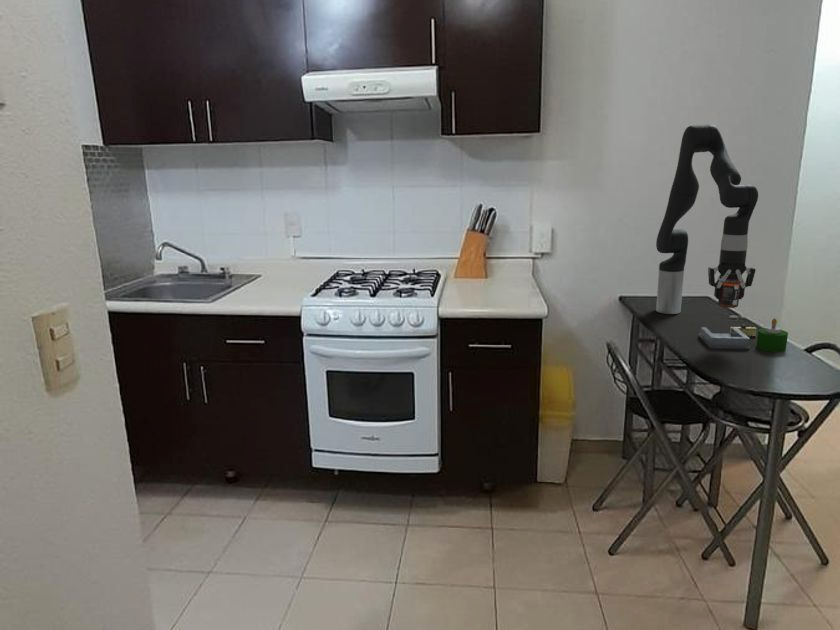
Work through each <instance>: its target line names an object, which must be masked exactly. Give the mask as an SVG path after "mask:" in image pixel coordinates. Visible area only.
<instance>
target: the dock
mask: <svg viewBox="0 0 840 630" xmlns="http://www.w3.org/2000/svg"><path fill="white" fill-rule="evenodd" d="M698 337H699V338H700V339H701V340H702V342H704V343H705V344H706V345H707V347H709V349H727V350H728V349H729V350H731V349H732V350H734V349H736V350H750V349H751V346H750V343H751V337H748V336H746V335H745V334H744V333H743V332H742V331H740V330H739V329H738V328H732V334H730V333H718V332H717V333H713V332H711V330H710V329H708V328H707V327H706V326H705V327H704V326H701V327H700V332H699V333H698Z"/></svg>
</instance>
